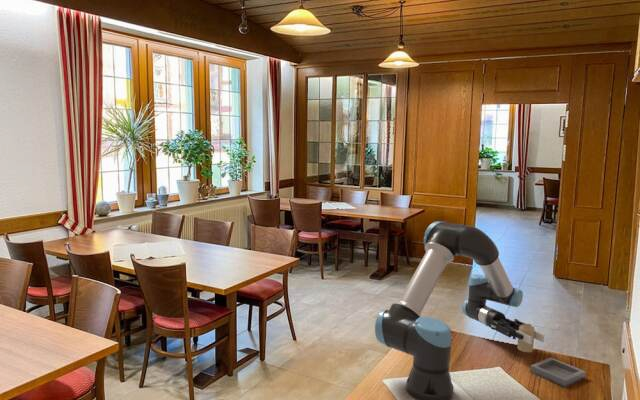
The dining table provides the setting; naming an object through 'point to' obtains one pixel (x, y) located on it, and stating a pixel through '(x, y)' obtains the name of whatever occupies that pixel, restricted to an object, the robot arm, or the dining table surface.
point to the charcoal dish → (557, 372)
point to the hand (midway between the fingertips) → (537, 339)
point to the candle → (522, 344)
